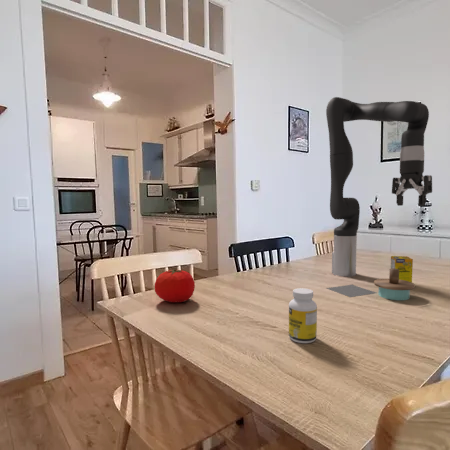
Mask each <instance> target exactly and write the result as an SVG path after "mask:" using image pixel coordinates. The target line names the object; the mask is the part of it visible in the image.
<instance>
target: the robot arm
mask: <svg viewBox="0 0 450 450" xmlns="http://www.w3.org/2000/svg"><path fill="white" fill-rule="evenodd" d="M325 113H326V123H327V128H328V129H327V130H328V139H329V140H328V141H329V142H328V143H329V165H330V166H329V167H330V197H329V211H330V215H331V217H332V219H334V220H343V222H342V224H340V225H339V226H336V227H335V228H334V229H333V251H332V252H331V274H333V275H334V276H338V277H345V278H346V277H347V278H348V277H349V278H350V277H355V276H356V275H357V245H358V244H357V237H358V236H357V233H358V229H359V225H360V224H359V223H360V213H361V212H360V208H361V207H360V202H359V201H358V199H357V198H355V197H344V188H345V183H346V181H347V179H348V178H349V175H350V174H351V172H352V170H353V166H354V153H353V152H354V151H353V147H352V144H351V143H350V140H349V138H348V136H347V134H346V130H345V125H344V124H345V123H346V122H354V121H374V122H385V123H388V122H390V123H391V122H392V123H393V122H400V123H407V124H408V125H407V128H406V130H405V131H403V132H402V134H401V139H400V140H401V141H400V144H401V145H400V153H399V174H400V177H393V178H392V183H391V184H392V185H391V194H392V195H393V194H394V195H396V204H397V206H403V205H404V193H405V192H407V190H412V189H414V190H415V191H417V193H418V199H417V201H418V203H417V204H418V207H424V206H425V205H426V201H427V195H429V194H432V193H433V176H432V175H430V174H429V175H428V174H426V175H423V174H424V171H425V132H426V130H427V126H428V122H429V118H430V111H429V109H428V106H427V105H426V104H425V103H422V102H418V101H414V100H413V101H412V100H403V101H402V100H401V101H396V102H395V101H377V102H371V103H359V102H355V101H352V100H350V99H347V98H343V97H338V96H334V97H331V99H329V101H328V103H327V105H326V110H325Z"/></svg>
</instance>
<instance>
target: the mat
mask: <svg viewBox="0 0 450 450" xmlns="http://www.w3.org/2000/svg"><path fill="white" fill-rule="evenodd" d="M325 289H327V290H329V291H332V292H335V293H338V294H340V295H342V296H346V297H348V298H354V297H360V296H361V297H362V296H366V295H368V296H369V295H372V294H377V292H376V291H372V290H370V289H368V288H367V289H366V288H363V287H361V286H357V285H354V284H346V285H340V286H332V287H326V288H325Z"/></svg>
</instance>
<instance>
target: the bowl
mask: <svg viewBox="0 0 450 450" xmlns="http://www.w3.org/2000/svg"><path fill="white" fill-rule="evenodd" d="M377 294H378V296H379V297H381V298H384V299H386V300H392V301H406V300H409V299H410V298H411V297H410V296H411V290H391V289H385V288H381V287H378V292H377Z"/></svg>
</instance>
